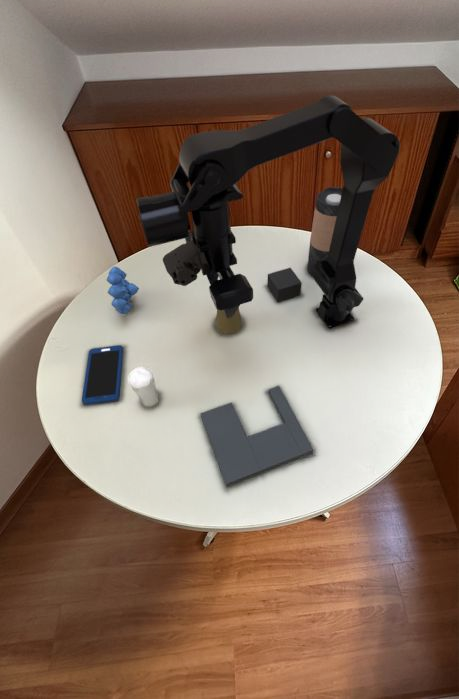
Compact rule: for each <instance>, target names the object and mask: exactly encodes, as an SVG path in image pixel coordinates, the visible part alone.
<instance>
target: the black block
mask: <svg viewBox="0 0 459 699" xmlns="http://www.w3.org/2000/svg"><path fill="white" fill-rule="evenodd" d="M302 284H303V282H302V281H301V279H300V278H299V277H298V276H297V274H296V273H295V272H294V270H293V269H292V267H287V268H283V269H281V270H277V271H274V272H271V273H267V285H266V287H267V288H268V290H269V291H270V293H271V295H272V296H273V298H274V299H275V301H276V303H280V302H283V301H286V300H290V299H292V298H295V297H299V296H301V293H302V292H301V291H302Z"/></svg>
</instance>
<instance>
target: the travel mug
mask: <svg viewBox="0 0 459 699" xmlns="http://www.w3.org/2000/svg"><path fill="white" fill-rule="evenodd" d="M342 190H343V187H339V186H331V187H330V186H329V187H325V188H324V189H323V190H322V191H321V192H320V193H317V194H316V199H315V206H314V213H313V219H312V226H311V232H310V239H309V248H308V259H307V266H306V267H307V269H306V270H307V273H308V274H309V276H311V277H312V278H313V276H312V274H313V272H314V270H315V262H316V261H322V260H323V259H324V258H325V257H326V256H327V255H328V253H329V249H330V244H331V240H332V235H333V231H334V226H335V222H336V217H337V213H338V208H339V204H340V199H341V195H342Z"/></svg>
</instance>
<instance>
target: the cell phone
mask: <svg viewBox="0 0 459 699" xmlns="http://www.w3.org/2000/svg"><path fill="white" fill-rule="evenodd" d="M123 358H124V347H123V346H122V344H121V345H111V346H103V347H95V348H91V349H89V351H88V355H87V362H86V368H85V374H84V375H85V376H84V382H83V389H82V396H81V403H82V404H83V405H95V404H103V403H109V402H116V401H118V400H119V399H120V394H121V383H122V382H121V381H122V372H123V370H122V369H123Z"/></svg>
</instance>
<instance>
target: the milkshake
mask: <svg viewBox="0 0 459 699" xmlns="http://www.w3.org/2000/svg"><path fill="white" fill-rule="evenodd" d="M127 383H128V385H129V386H130V387H131V389H132V391H134V393H135V395H136V396H137V398H138V399H139V401H140V402H141V403H142V405H143V406H145V407H146V408H152V407H154V406H156V405H157V404H158V402H159V400H160V399H159V395H158V391H157V386H156V382H155V377H154V372H153V371H152V369H150V368H148V367H147V366H138V367H135V368H133V369H132V370H131V372H130V373H129V374H128V376H127Z"/></svg>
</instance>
